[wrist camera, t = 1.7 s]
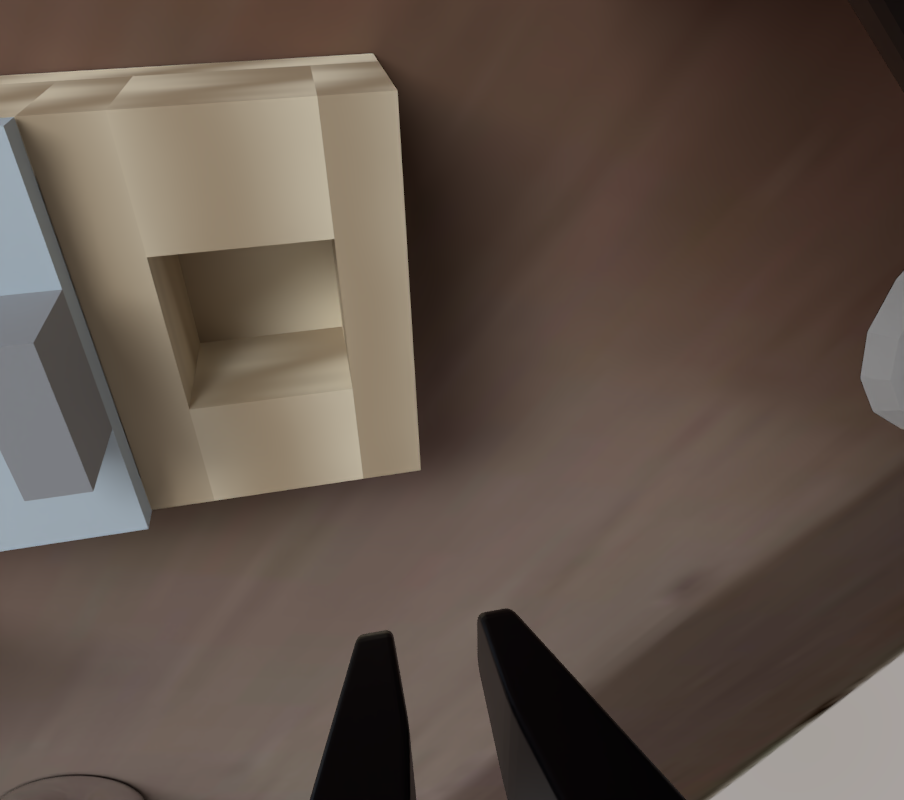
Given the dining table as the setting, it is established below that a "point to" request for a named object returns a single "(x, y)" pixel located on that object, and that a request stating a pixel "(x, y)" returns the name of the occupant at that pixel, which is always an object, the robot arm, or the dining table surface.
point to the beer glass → (74, 789)
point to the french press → (886, 358)
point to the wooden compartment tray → (236, 264)
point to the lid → (52, 387)
